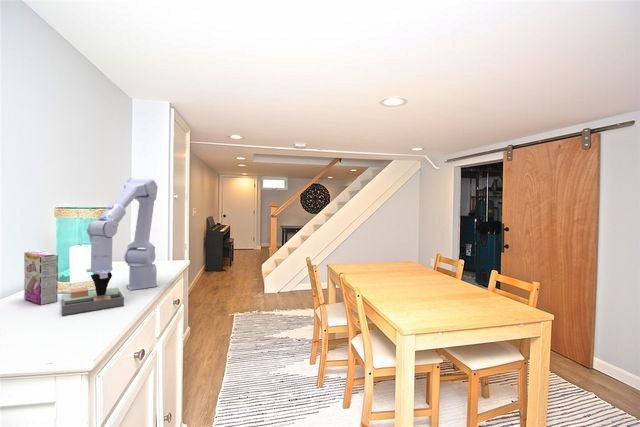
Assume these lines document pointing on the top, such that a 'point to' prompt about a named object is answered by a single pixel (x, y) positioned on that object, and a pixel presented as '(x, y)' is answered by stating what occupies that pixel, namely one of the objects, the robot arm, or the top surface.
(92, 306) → the tray
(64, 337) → the top surface
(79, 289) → the tile
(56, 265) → the candy bar box
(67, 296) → the board
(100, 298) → the tile
